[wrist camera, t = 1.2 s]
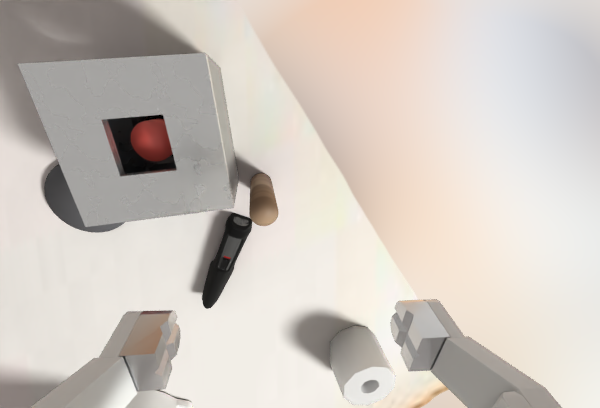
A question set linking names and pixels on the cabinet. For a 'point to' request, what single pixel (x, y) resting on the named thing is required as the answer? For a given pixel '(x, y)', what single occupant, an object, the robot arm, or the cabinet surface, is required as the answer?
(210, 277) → the electric trimmer
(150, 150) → the button
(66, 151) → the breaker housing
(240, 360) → the cabinet surface
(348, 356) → the toilet tissue
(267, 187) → the walnut dowel
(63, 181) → the rubber coaster
